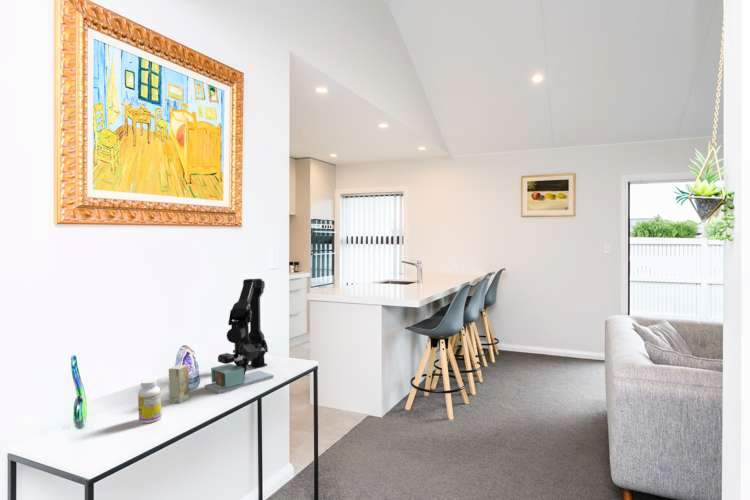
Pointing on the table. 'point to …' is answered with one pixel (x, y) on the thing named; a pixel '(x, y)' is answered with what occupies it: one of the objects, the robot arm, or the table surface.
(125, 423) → the table surface
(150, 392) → the supplement bottle
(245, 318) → the robot arm
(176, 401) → the skincare box
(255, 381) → the grey flat rectangular block
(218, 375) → the block
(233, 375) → the block
